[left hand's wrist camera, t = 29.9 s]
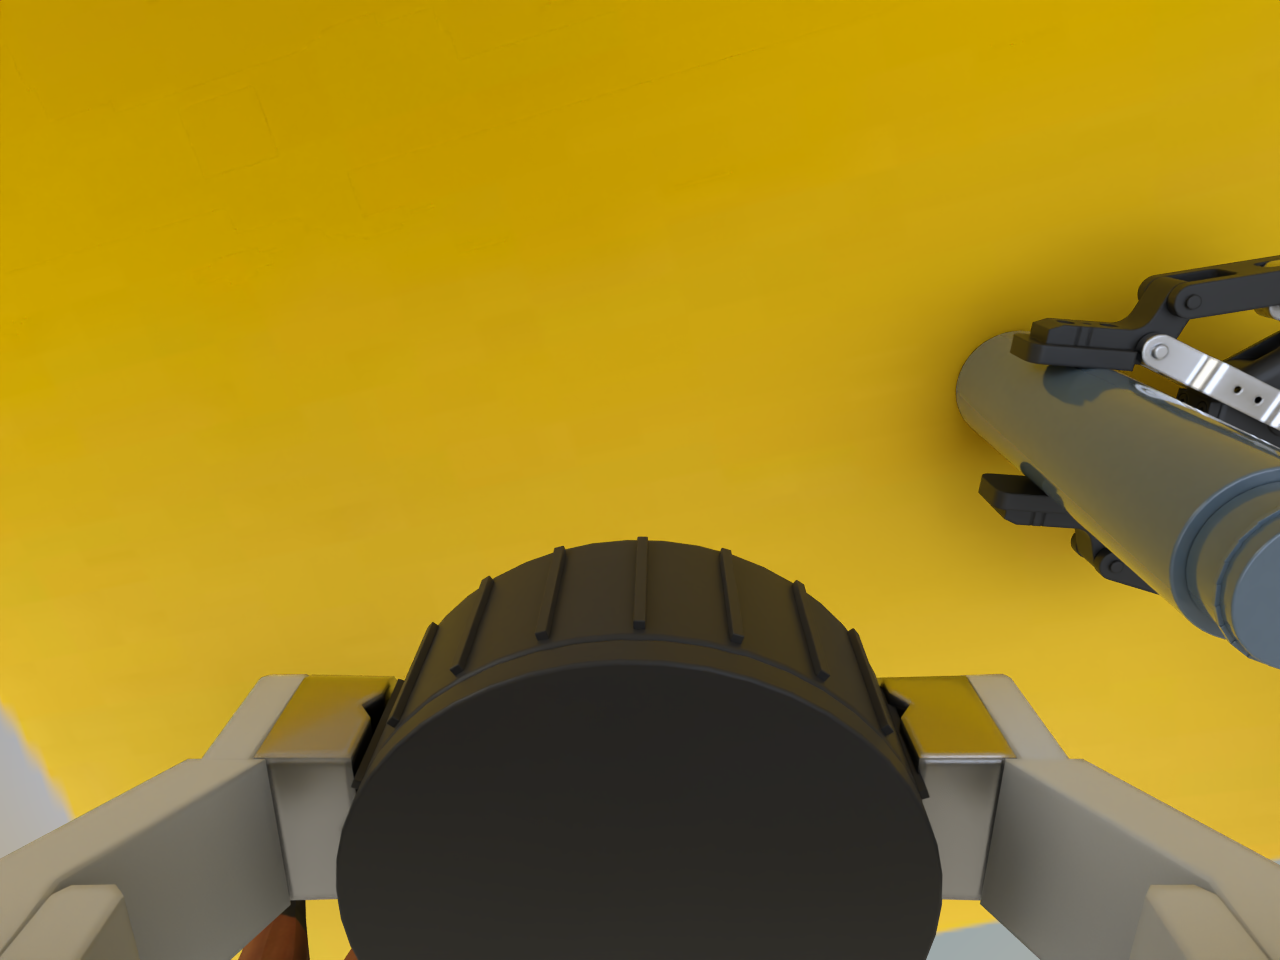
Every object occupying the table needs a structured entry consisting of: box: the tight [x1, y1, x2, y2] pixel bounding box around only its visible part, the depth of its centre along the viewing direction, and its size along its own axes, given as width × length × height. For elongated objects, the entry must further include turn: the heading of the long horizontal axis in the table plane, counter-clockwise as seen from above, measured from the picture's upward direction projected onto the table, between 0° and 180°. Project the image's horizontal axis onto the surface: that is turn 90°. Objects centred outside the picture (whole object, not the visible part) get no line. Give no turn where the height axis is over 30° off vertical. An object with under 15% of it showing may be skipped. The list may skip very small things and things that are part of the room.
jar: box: [956, 331, 1280, 669], centre depth 30 cm, size 5×5×20 cm
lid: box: [336, 537, 943, 960], centre depth 10 cm, size 6×6×2 cm
